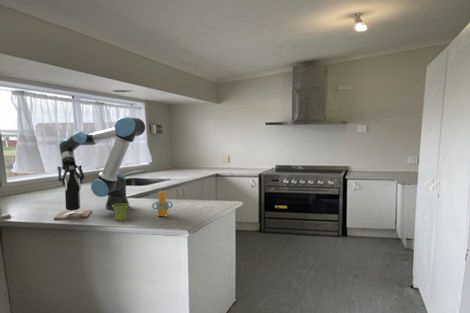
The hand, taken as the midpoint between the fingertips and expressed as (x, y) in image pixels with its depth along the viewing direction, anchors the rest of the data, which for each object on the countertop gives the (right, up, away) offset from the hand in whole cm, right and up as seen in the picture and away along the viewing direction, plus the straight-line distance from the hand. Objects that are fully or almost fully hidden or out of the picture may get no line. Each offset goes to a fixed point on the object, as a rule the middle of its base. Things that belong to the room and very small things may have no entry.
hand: (73, 188), depth 197 cm
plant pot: (+31, -18, -5) cm, 36 cm away
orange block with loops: (+53, -17, +3) cm, 56 cm away
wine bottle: (-2, -13, +4) cm, 14 cm away
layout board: (-2, -17, +4) cm, 18 cm away
